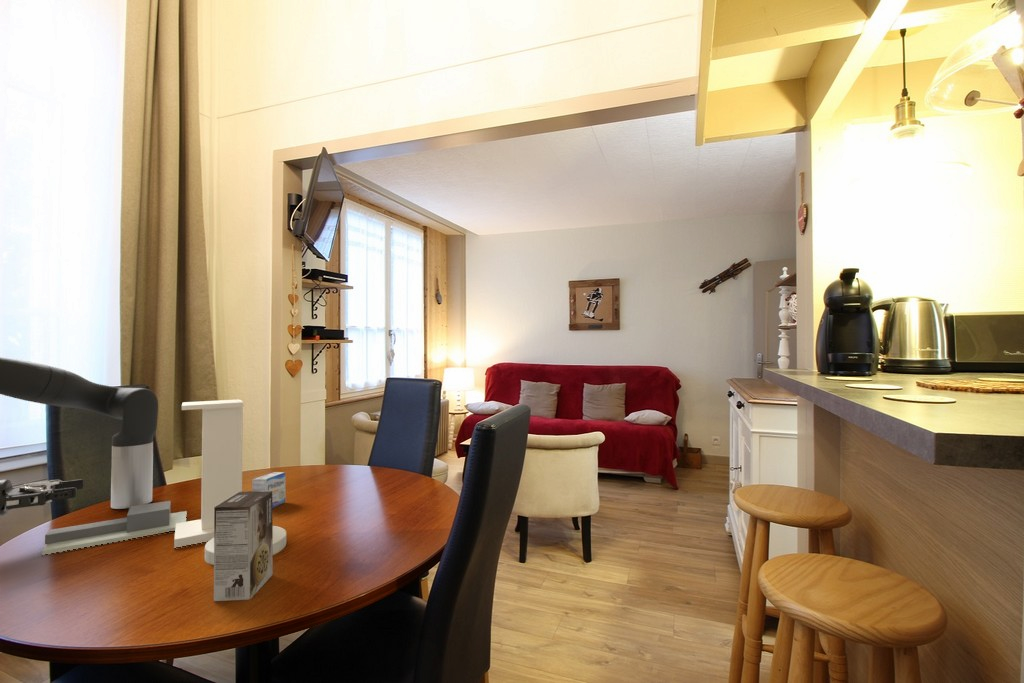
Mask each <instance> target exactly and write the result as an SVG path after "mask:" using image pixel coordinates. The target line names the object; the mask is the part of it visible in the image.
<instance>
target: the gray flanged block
mask: <svg viewBox="0 0 1024 683" xmlns="http://www.w3.org/2000/svg"><path fill="white" fill-rule="evenodd" d="M171 502H172V501H171V500H165V501H159V502H153V503H151V502H150V503H148V504H145V505H138V506H131V507H130V508H128V512H127V515H126V517H121V518H115V519H109V520H102V521H96V522H95V521H94V522H91V523H85V524H84V523H83V524H79V525H73V526H72V525H71V526H66V527H59V528H53V529H49V530H48V532H46V534H45V536H44V545H47V544H51V543H57V542H63V541H68V540H74V539H80V538H86V537H92V536H97V535H103V534H109V533H115V532H120V531H126V530H127V533H129V532H134V531H140V530H146V529H151V528H157V527H163V526H168V525H169V523H170V514H171V506H172V505H171Z"/></svg>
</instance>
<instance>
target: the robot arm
mask: <svg viewBox="0 0 1024 683" xmlns="http://www.w3.org/2000/svg"><path fill="white" fill-rule="evenodd" d="M0 395H1V396H5V397H6V396H7V397H9V398H13V399H17V400H21V401H27V402H30V403H31V402H32V403H37V404H41V405H47V406H54V407H62V408H73V409H75V408H76V409H82V410H86V411H91V412H94V413H98V414H102V415H104V416H107V417H111V418H113V419H117V420H121V422H122V423H121V429H119V431H118V432H117V433H115V434H114V435H113V436H112V437H111V473H110V474H111V476H110V480H111V481H110V508H111V509H115V510H122V509H123V510H125V509H130V507H131V506H138V505H145V504H151V502H153V487H154V486H153V485H154V484H153V481H154V480H153V477H154V475H153V473H154V470H153V469H154V468H153V467H154V436H155V434H156V432H157V428H158V416H159V400H158V397H157V394H156V393H155V392H154V391H153V390H152V389H149V388H142V387H119V386H118V387H117V386H110V385H105V384H100V383H96V382H93V381H91V380H88V379H86V378H84V377H83V376H81V375H78V374H77V373H74V372H72V371H69V370H66V369H63V368H59V367H54V366H51V365H48V364H43V363H39V362H32V361H27V360H22V359H16V358H10V357H9V358H8V357H1V356H0ZM51 486H52V488H51ZM84 486H85V480H84V479H83V478H80V479H71V480H64V481H63V480H61V479H59V478H57V479H51V480H43V481H36V482H35V481H33V482H26V483H24V484H22V486H20V487H16V488H15V487H13V483H12V481H11V480H10V479H5V478H4V479H0V516H1V517H2V516H6V515H7V514H8V513H9V511H10V510H14V509H21V508H29V507H30V508H31V507H39V506H44V505H46V504H49V503H52V502H53V501H60V500H68V499H74V498H76V497H77V495H78V494H77V492H78V491H77V490H83V489H84Z"/></svg>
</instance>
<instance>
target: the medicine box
mask: <svg viewBox="0 0 1024 683" xmlns="http://www.w3.org/2000/svg"><path fill="white" fill-rule="evenodd" d="M252 491H261V492H267V491H272V509H274V508H277V506H281V505H282V503H283V504H285V503H286V472H284V471H282V472H280V471H273V472H270V473H267V474H264V475H261V476H258V477H256V478H252ZM284 502H285V503H284ZM273 507H274V508H273Z"/></svg>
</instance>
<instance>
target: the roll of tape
mask: <svg viewBox="0 0 1024 683" xmlns="http://www.w3.org/2000/svg"><path fill="white" fill-rule="evenodd" d="M286 545H287V530H286V529H284V528H283V527H280V526H277V525H273V555H276V554H278V553H279V552H281V551H282V550H284V548H286ZM204 561H205V563H207V564H209V565H212V566H214V538H212V539H211V540H210V541H208V542H206V543H205V545H204Z"/></svg>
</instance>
